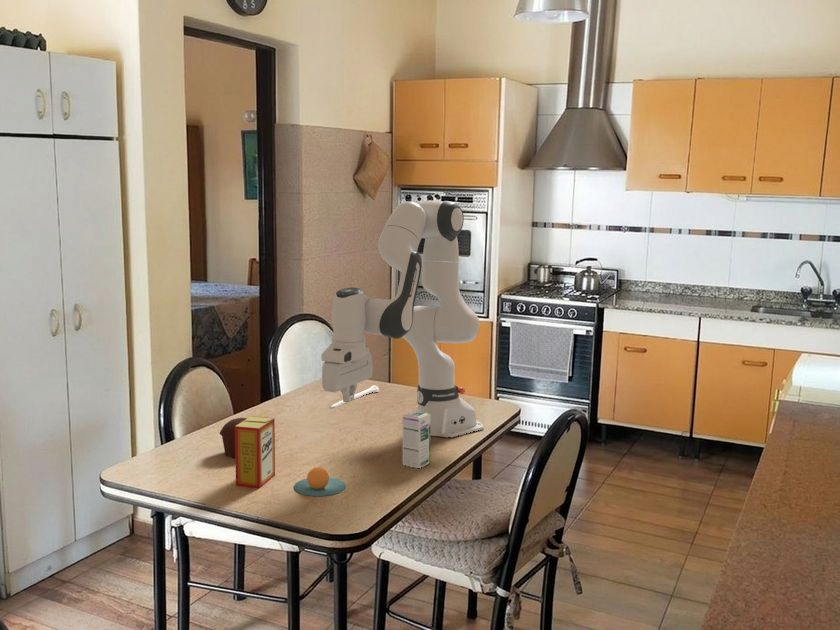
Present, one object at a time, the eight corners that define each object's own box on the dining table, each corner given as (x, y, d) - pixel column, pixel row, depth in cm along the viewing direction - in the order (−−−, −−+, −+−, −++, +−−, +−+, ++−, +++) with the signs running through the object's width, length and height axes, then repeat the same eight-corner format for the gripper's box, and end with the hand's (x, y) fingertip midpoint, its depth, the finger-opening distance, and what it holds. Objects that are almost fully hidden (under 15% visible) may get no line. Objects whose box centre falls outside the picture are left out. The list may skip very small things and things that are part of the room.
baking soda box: (259, 488, 207) (258, 427, 205) (235, 485, 209) (234, 424, 206) (275, 475, 217) (274, 416, 214) (252, 473, 218) (251, 414, 215)
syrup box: (419, 469, 223) (420, 417, 221) (401, 465, 226) (402, 414, 224) (430, 463, 228) (431, 412, 225) (412, 459, 231) (413, 409, 228)
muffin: (248, 444, 241) (247, 411, 239) (269, 454, 233) (269, 420, 232) (212, 453, 233) (211, 419, 231) (233, 463, 225) (232, 428, 223)
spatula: (338, 410, 279) (338, 402, 279) (328, 409, 281) (328, 401, 281) (381, 392, 304) (381, 385, 303) (371, 391, 306) (371, 383, 305)
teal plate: (333, 474, 218) (333, 473, 218) (354, 490, 207) (354, 490, 207) (286, 482, 212) (286, 481, 212) (305, 499, 200) (305, 499, 200)
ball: (324, 481, 212) (323, 461, 210) (333, 489, 207) (331, 469, 206) (304, 486, 209) (303, 466, 208) (312, 495, 205) (311, 474, 203)
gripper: (358, 342, 227) (358, 391, 229) (317, 355, 209) (317, 408, 211) (378, 344, 224) (378, 393, 226) (338, 358, 206) (338, 411, 208)
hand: (348, 401), depth 218 cm, fingers closed
